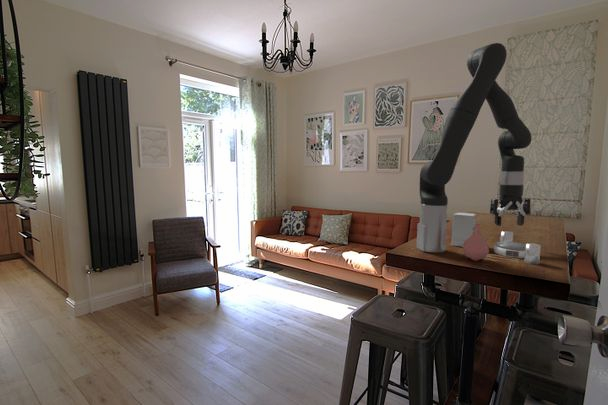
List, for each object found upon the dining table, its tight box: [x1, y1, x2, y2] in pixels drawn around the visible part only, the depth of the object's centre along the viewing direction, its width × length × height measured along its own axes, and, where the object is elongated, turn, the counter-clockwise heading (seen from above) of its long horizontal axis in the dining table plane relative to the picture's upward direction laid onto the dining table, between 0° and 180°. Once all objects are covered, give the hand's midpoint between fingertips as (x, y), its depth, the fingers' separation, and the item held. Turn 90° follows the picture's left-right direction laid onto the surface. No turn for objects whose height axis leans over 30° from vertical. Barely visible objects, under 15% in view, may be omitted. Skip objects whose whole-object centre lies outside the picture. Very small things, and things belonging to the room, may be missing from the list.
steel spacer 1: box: [499, 230, 514, 242], centre depth 122 cm, size 4×4×6 cm
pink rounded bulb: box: [462, 223, 490, 262], centre depth 105 cm, size 8×8×12 cm
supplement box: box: [451, 212, 477, 248], centre depth 125 cm, size 7×7×13 cm
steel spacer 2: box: [523, 242, 542, 265], centre depth 103 cm, size 4×4×6 cm
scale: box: [493, 240, 526, 259], centre depth 113 cm, size 11×11×3 cm
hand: (509, 225), depth 121 cm, fingers open, 8 cm apart
